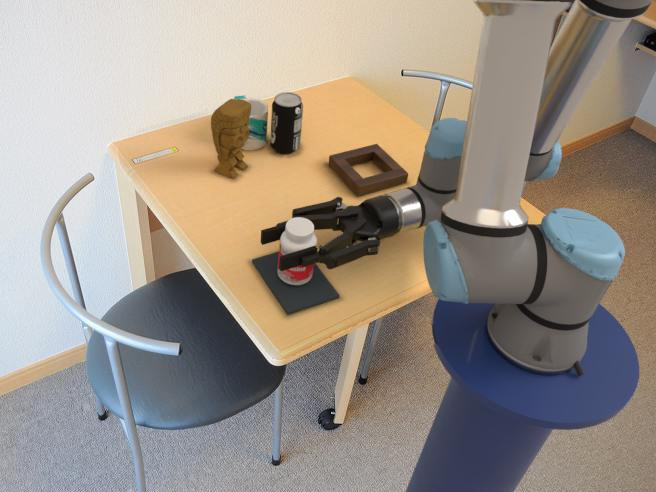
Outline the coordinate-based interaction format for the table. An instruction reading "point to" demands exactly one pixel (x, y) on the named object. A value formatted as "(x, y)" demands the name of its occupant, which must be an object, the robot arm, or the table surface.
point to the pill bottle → (297, 249)
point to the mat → (295, 286)
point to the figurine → (231, 135)
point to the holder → (374, 183)
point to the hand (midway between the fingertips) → (271, 250)
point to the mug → (256, 123)
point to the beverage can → (286, 123)
